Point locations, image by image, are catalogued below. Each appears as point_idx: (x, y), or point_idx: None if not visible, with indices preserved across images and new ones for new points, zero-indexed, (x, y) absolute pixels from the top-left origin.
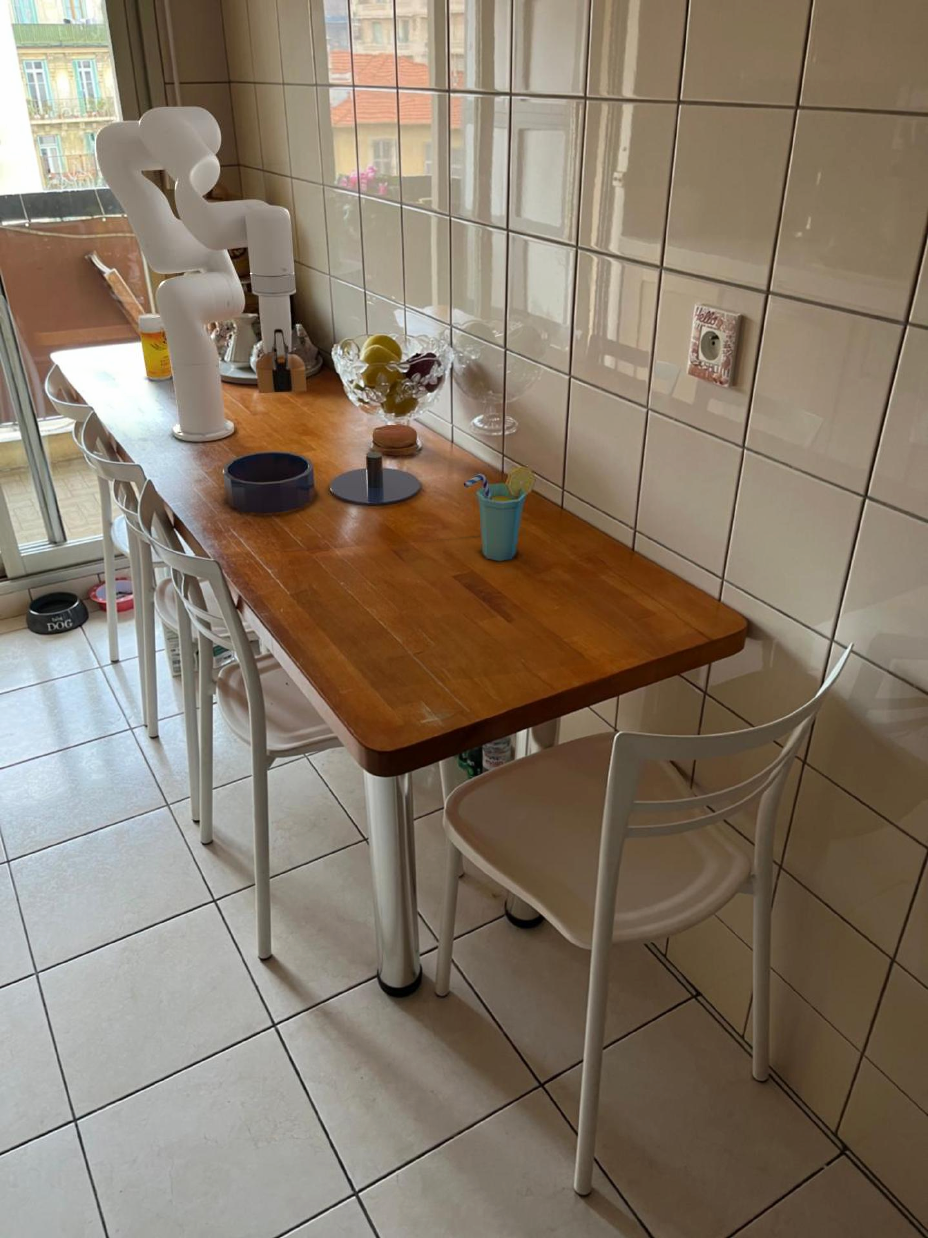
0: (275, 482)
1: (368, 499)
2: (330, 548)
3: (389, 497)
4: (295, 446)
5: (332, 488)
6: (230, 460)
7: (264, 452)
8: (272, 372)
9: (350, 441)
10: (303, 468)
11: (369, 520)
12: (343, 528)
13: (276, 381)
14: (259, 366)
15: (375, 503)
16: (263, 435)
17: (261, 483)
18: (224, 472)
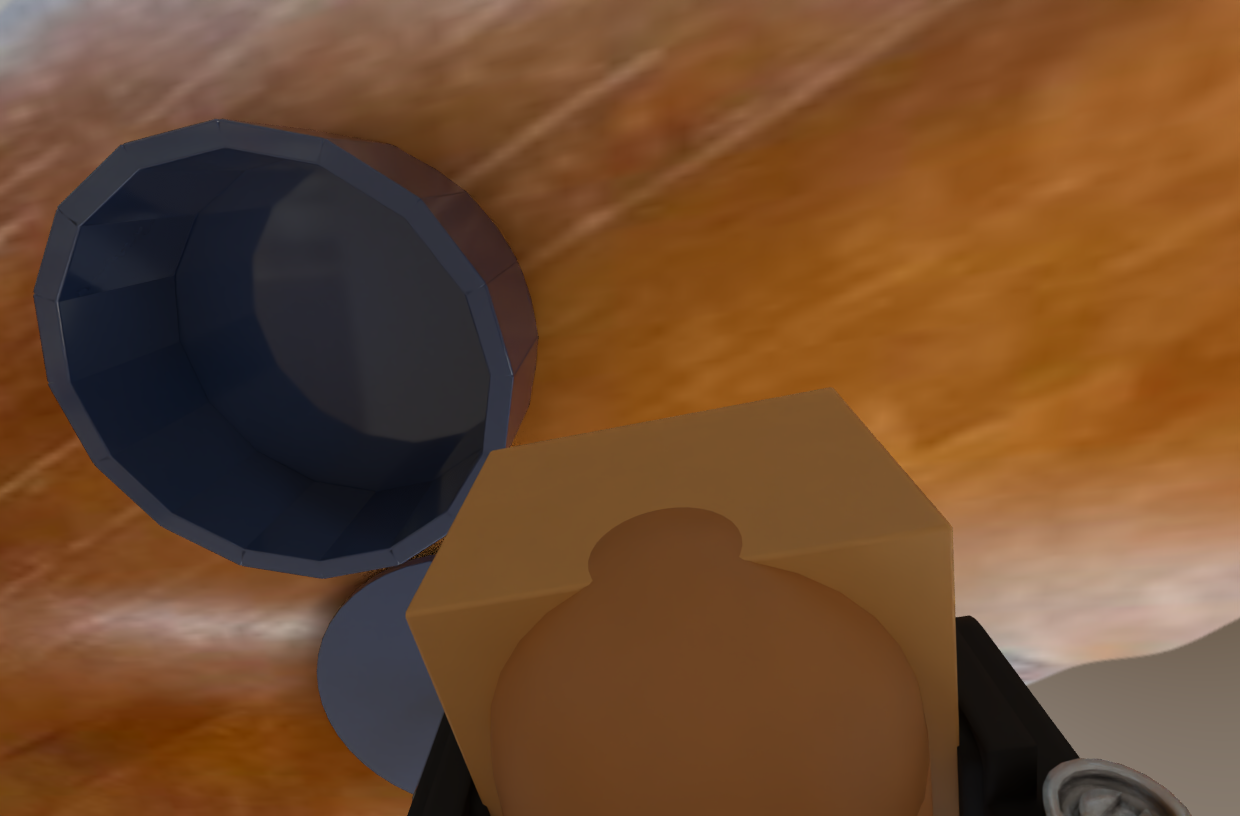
0: (90, 445)
1: (341, 683)
2: (2, 583)
3: (370, 738)
4: (990, 350)
5: (419, 570)
6: (325, 143)
7: (483, 326)
8: (431, 789)
9: (1012, 574)
10: (438, 499)
11: (239, 672)
12: (157, 607)
13: None
14: (534, 666)
15: (322, 700)
16: (1208, 150)
17: (58, 382)
18: (134, 149)
